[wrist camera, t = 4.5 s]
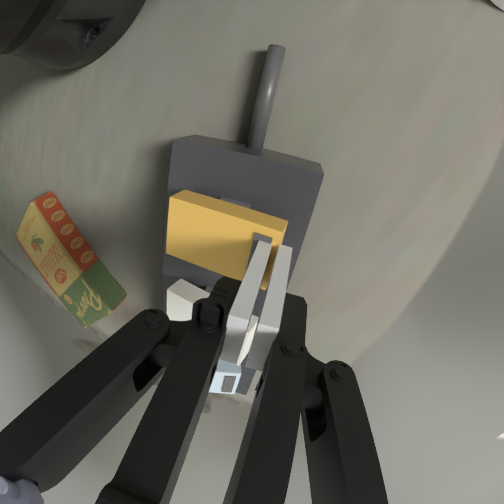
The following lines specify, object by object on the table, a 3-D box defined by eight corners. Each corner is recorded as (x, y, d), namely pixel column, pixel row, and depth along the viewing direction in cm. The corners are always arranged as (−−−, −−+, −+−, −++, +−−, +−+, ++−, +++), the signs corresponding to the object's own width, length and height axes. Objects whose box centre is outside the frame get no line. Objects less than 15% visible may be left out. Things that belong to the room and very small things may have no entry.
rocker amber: (179, 242, 19) (164, 254, 18) (184, 189, 17) (168, 197, 16) (272, 275, 18) (264, 291, 16) (288, 221, 16) (281, 233, 14)
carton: (54, 188, 25) (29, 200, 22) (130, 293, 30) (112, 315, 27) (34, 223, 29) (13, 236, 25) (100, 312, 34) (84, 331, 30)
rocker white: (179, 313, 23) (165, 325, 22) (181, 278, 21) (165, 290, 20) (248, 351, 21) (237, 367, 20) (259, 317, 19) (247, 334, 18)
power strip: (176, 345, 32) (161, 373, 28) (214, 42, 16) (190, 25, 12) (252, 369, 32) (244, 400, 28) (345, 66, 16) (357, 53, 11)
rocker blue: (167, 372, 26) (165, 388, 24) (166, 350, 24) (164, 366, 22) (233, 379, 27) (234, 395, 25) (240, 358, 25) (241, 375, 23)
